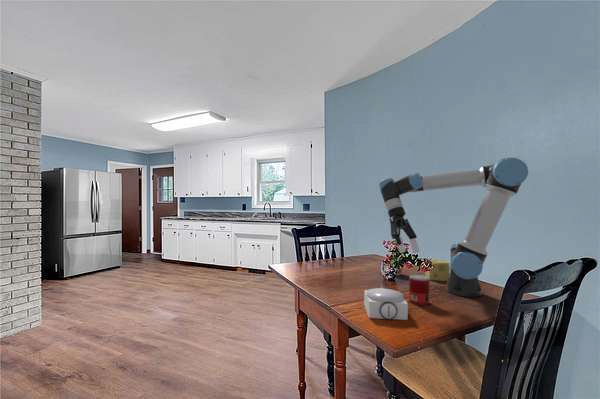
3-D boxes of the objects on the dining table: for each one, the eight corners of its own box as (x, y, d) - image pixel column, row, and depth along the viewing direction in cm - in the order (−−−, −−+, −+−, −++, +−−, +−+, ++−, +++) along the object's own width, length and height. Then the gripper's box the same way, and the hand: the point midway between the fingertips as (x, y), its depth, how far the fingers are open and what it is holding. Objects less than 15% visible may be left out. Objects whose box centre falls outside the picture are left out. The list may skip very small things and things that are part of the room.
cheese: (429, 280, 161) (429, 262, 161) (424, 275, 172) (424, 258, 172) (449, 281, 160) (449, 263, 160) (443, 276, 170) (443, 259, 170)
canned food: (430, 306, 123) (431, 279, 122) (410, 304, 124) (411, 278, 124) (426, 299, 130) (427, 275, 130) (407, 298, 132) (408, 273, 132)
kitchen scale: (398, 305, 122) (398, 289, 122) (408, 321, 107) (408, 301, 107) (364, 304, 123) (364, 287, 123) (369, 319, 108) (369, 300, 108)
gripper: (400, 214, 152) (414, 254, 144) (374, 209, 135) (389, 254, 127) (414, 209, 147) (429, 250, 139) (388, 202, 130) (404, 249, 122)
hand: (410, 252), depth 133 cm, fingers open, 13 cm apart
